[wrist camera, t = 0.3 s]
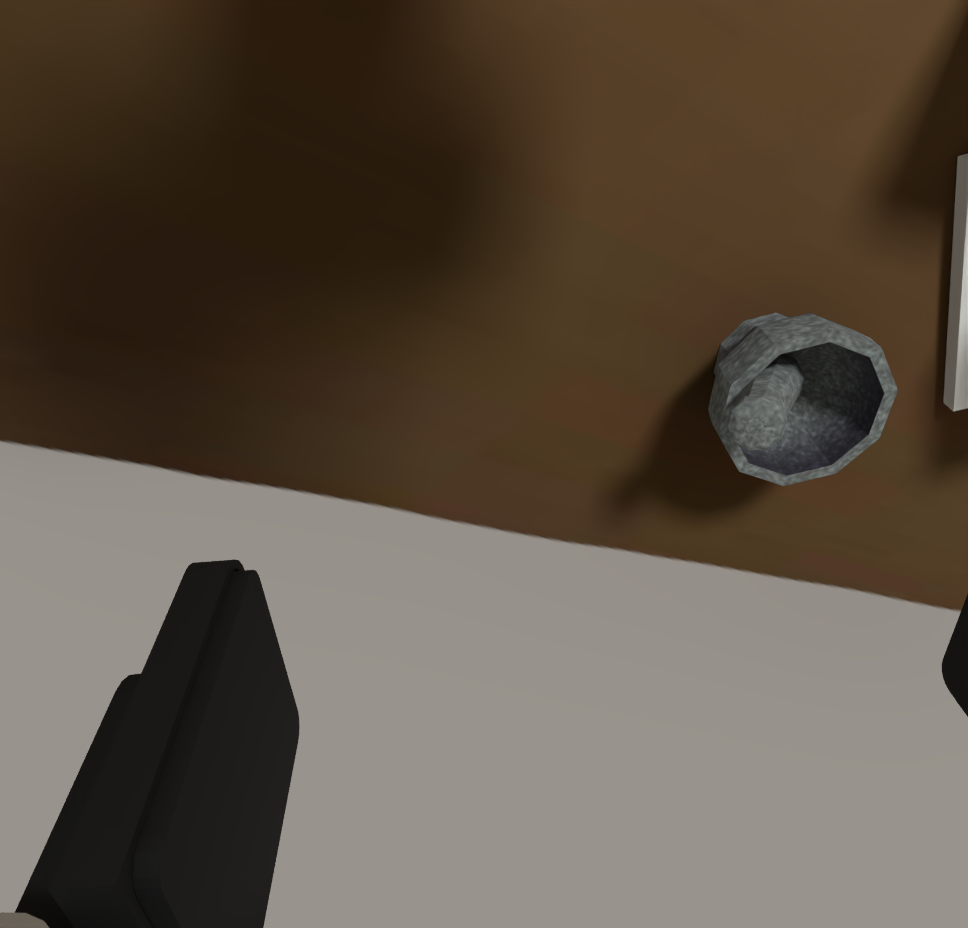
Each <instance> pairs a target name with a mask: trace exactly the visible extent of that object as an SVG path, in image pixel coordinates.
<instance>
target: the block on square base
mask: <svg viewBox="0 0 968 928" xmlns="http://www.w3.org/2000/svg"><path fill="white" fill-rule="evenodd" d="M943 403H944V404H945V405H946V406H948V407H949V408H950V409H951V410H952V411H953V412H954V411H958V410H962V409H966V408H968V153H967V154H964V155H960V156H958V159H957V176H956V193H955V210H954V228H953V245H952V262H951V279H950V296H949V314H948V331H947V348H946V365H945V383H944V400H943Z"/></svg>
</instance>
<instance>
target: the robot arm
mask: <svg viewBox="0 0 968 928" xmlns="http://www.w3.org/2000/svg"><path fill="white" fill-rule="evenodd" d="M942 674H943V678H944V681H945V684H946V686H947V688H948V689H949V691H950V692H951V694H952V695H953V697H954V698H955V700H956V701H957V702H958V704H959V705H960V707H961V708H962V709H963V711H964V712H965V713H966V715H967V716H968V595H967V597H966V600H965V603H964V605H963V608H962V611H961V613H960V616H959V619H958V621H957V624H956V626H955V629H954V632H953V634H952V637H951V640H950V642H949V645H948V647H947V650H946V653H945V655H944V658H943V662H942ZM298 738H299V715H298V710H297V706H296V703H295V699H294V696H293V692H292V689H291V685H290V682H289V679H288V675H287V671H286V668H285V664H284V661H283V657H282V654H281V651H280V648H279V644H278V640H277V637H276V633H275V630H274V626H273V623H272V619H271V616H270V612H269V609H268V605H267V602H266V598H265V595H264V591H263V588H262V584H261V581H260V578H259V575H258V573H257V572H256V571H255V570H247V571H245V570H244V568H243V565H242V564H241V563H240V561H239V560H226V561H212V562H199V563H192V564H190V565H189V566H188V568H187V569H186V571H185V573H184V576H183V578H182V580H181V583H180V585H179V587H178V590H177V592H176V594H175V597H174V599H173V601H172V604H171V606H170V608H169V611H168V613H167V615H166V618H165V620H164V622H163V625H162V627H161V629H160V631H159V634H158V636H157V638H156V641H155V643H154V646H153V648H152V650H151V653H150V655H149V657H148V659H147V662H146V664H145V667H144V669H143V671H142V673H141V674H134V675H129V676H128V677H127V678H125V679H124V680H123V681H122V682H121V684H120V685H119V687H118V688H117V690H116V692H115V694H114V696H113V698H112V700H111V703H110V705H109V707H108V709H107V711H106V713H105V716H104V718H103V720H102V722H101V725H100V727H99V729H98V731H97V733H96V735H95V738H94V740H93V742H92V744H91V746H90V749H89V751H88V753H87V755H86V758H85V760H84V762H83V764H82V766H81V768H80V771H79V773H78V775H77V777H76V780H75V781H74V784H73V786H72V788H71V790H70V792H69V795H68V797H67V799H66V801H65V803H64V806H63V808H62V810H61V812H60V815H59V817H58V819H57V821H56V823H55V825H54V828H53V830H52V832H51V834H50V836H49V839H48V841H47V843H46V846H45V847H44V850H43V852H42V854H41V856H40V859H39V861H38V863H37V865H36V867H35V869H34V872H33V874H32V876H31V878H30V880H29V883H28V885H27V887H26V889H25V891H24V894H23V896H22V898H21V900H20V902H19V905H18V907H17V909H16V911H15V913H0V928H263V926H264V921H265V915H266V910H267V905H268V899H269V894H270V889H271V883H272V878H273V873H274V867H275V862H276V857H277V851H278V846H279V841H280V835H281V830H282V825H283V819H284V814H285V809H286V803H287V798H288V792H289V787H290V782H291V776H292V771H293V765H294V760H295V755H296V750H297V744H298Z"/></svg>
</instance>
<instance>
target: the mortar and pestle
mask: <svg viewBox="0 0 968 928" xmlns="http://www.w3.org/2000/svg"><path fill="white" fill-rule="evenodd" d="M714 374H715V376H716V377H715V381H714V385H713V389H712V394H711V398H710V402H709V406H708V411H709V415H710V419H711V423H712V424H713V426H714V428H715V430H716V432H717V433H718V435H719V437H720V439H721V441H722V442H723V444H724V446H725V448H726V450H727V451H728V453H729V455H730V457H731V459H732V460H733V462H734V464H735V465H736V467H737V469H738V470H739V472H742V473H745V474H748V475H751V476H754V477H758V478H761V479H764V480H767V481H770V482H773V483H776V484H779V485H782V486H785V485H789V484H794V483H798V482H802V481H806V480H811V479H815V478H819V477H823V476H828V475H832V474H836V473H837V472H838V471H840V470H841V469H842V468H843V467H844V466H846V465H847V464H848V463H849V462H851V461H852V460H853V459H854V458H855V457H857V456H858V455H859V454H860V453H862V452H863V451H864V450H865V449H867V448H868V447H869V446H870V445H871V444H873V443H874V442H875V441H876V440H878V439H879V437H880V435H881V432H882V430H883V427H884V425H885V422H886V419H887V417H888V414H889V412H890V409H891V407H892V404H893V401H894V399H895V396H896V394H897V391H898V390H897V387H896V384H895V382H894V379H893V377H892V374H891V371H890V369H889V366H888V363H887V361H886V358H885V356H884V353H883V350H882V348H881V347H880V346H879V345H878V344H877V343H875V342H874V341H873V340H872V339H871V338H869V337H867V336H865V335H863V334H861V333H859V332H857V331H854V330H852V329H850V328H847V327H844V326H842V325H839V324H837V323H834V322H832V321H829V320H827V319H824V318H822V317H819V316H816V315H814V314H811V313H808V314H803V315H798V316H794V317H790V318H789V317H786V316H784V315H781V314H778V313H773V314H769V315H765V316H761V317H757V318H753V319H749V320H746V321H744V322H743V323H742V324H741V325H739V326H738V327H737V328H736V329H735V330H734V331H733V332H732V333H731V334H730V335H729V336H728V337H727V338H726V339H725V340H724V341H723V342H722V343H721V344H720V348H719V352H718V356H717V360H716V365H715V369H714Z"/></svg>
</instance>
